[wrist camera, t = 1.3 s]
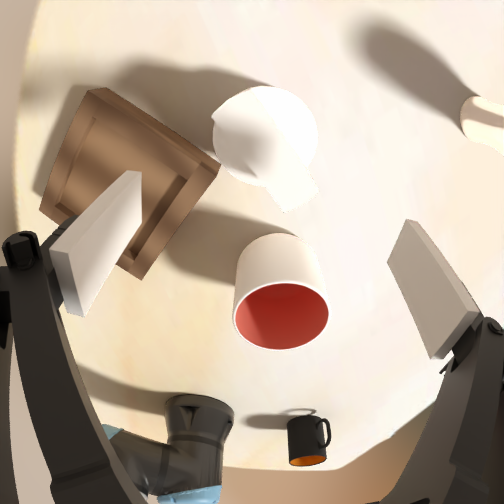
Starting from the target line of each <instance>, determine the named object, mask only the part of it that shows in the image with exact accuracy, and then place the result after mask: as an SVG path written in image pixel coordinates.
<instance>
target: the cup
mask: <svg viewBox="0 0 504 504" xmlns="http://www.w3.org/2000/svg"><path fill="white" fill-rule="evenodd" d="M330 318H331V306H330V302H329V298H328V295H327V291H326V287H325V284H324V280H323V277H322V273H321V270H320V266H319V263H318V259H317V256H316V254H315V252H314V251H313V249H312V248H311V247H310V245H309V244H307V243H306V242H305V241H304V240H302V239H300V238H298V237H296V236H294V235H290V234H284V233H273V234H268V235H264V236H262V237H259V238H257V239H256V240H254V241H252V242H251V243H250V244H249V245H248V246H247V247H246V248H245V249H244V250H243V252H242V253H241V255H240V257H239V260H238V264H237V272H236V283H235V293H234V304H233V315H232V319H233V324H234V327H235V329H236V331H237V332H238V334H239V335H240V336H241V337H242V338H243V339H244V340H245V341H247V342H248V343H250V344H252V345H254V346H256V347H259V348H262V349H267V350H274V351H282V350H291V349H296V348H299V347H302V346H304V345H307V344H309V343H311V342H312V341H314V340H315V339H317V338H318V337H319V336H320V335H321V334H322V333H323V332H324V331H325V329H326V328H327V326H328V324H329V322H330Z"/></svg>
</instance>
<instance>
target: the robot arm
mask: <svg viewBox="0 0 504 504" xmlns="http://www.w3.org/2000/svg"><path fill="white" fill-rule="evenodd" d="M141 179H142V172H138V171H128V170H127V171H126V172H125V173H123V174H122V175H121V176H120V177H119V178H118V179H117V180H116V181H115V182H114V183H113V184H111V185H110V186H109V187H108V188H107V189H106V190H105V191H104V192H103V193H102V194H101V195H100V196H99V197H98V198H97V199H96V200H95V201H94V202H93V203H92V204H91V205H90V206H89V207H88V208H87V209H86V210H85V211H84V212H83V213H82V214H81V215H74V216H72V217H70V218H68V219H66V220H65V221H64V222H63V223H62V224H61V225H60V226H59V227H58V229H56V230H55V231H54V232H53V233H52V235H50V236H49V237H48V238H47V239H46V241H45V242H44V243H43V244H42V245H41V246H39V242H38V238H37V235H36V233H34V232H32V231H21V232H18V233H15V234H13V235H11V236H10V237H8V238H7V239H6V240H5V241H4V243H3V245H2V250H3V253H4V257H5V259H6V263H7V266H1V267H0V504H19V500H18V495H17V489H16V484H15V478H14V470H13V462H12V452H11V440H10V422H9V386H10V366H11V354H12V344H13V335H14V342H15V349H16V355H17V361H18V366H19V371H20V376H21V381H22V385H23V390H24V394H25V398H26V402H27V406H28V409H29V413H30V416H31V420H32V423H33V426H34V429H35V432H36V436H37V438H38V442H39V444H40V447H41V450H42V453H43V456H44V458H45V461H46V463H47V466H48V468H49V471H50V474H51V477H52V482H51V485H50V490H51V494H52V497H53V499H54V502H55V504H148V503H147V499H148V494H151V495H155V496H158V497H157V500H158V503H160V504H217V503H218V502H219V499H220V491H221V488H222V485H221V483H222V466H223V449H224V443H225V441H226V439H227V437H228V435H229V433H230V430H231V428H232V426H233V423H234V412H233V410H232V409H231V408H230V407H229V406H228V405H227V404H225V403H223V402H221V401H219V400H216V399H213V398H209V397H205V396H198V395H180V396H176V397H173V398H171V399H169V400H168V401H167V403H166V407H165V420H166V426H167V432H168V440H167V444H164V443H161V442H158V441H155V440H151V439H148V438H145V437H142V436H139V435H136V434H134V433H131V432H128V431H125V430H124V429H122V428H120V429H119V428H116V427H113V426H110V425H107V424H102V425H101V423H100V421H99V419H98V416H97V414H96V412H95V410H94V407H93V405H92V403H91V401H90V398H89V396H88V393H87V391H86V389H85V386H84V384H83V381H82V378H81V376H80V373H79V370H78V368H77V365H76V362H75V359H74V356H73V354H72V351H71V348H70V345H69V341H68V338H67V335H66V332H65V328H64V325H63V322H62V318H61V314H60V312H59V307H60V305H61V304H62V302H63V301H64V304H65V307H66V310H67V313H71V314H74V315H78V316H82V317H85V316H86V314H87V312H88V310H89V309H90V307H91V305H92V303H93V301H94V300H95V298H96V296H97V294H98V293H99V291H100V289H101V287H102V286H103V284H104V282H105V280H106V279H107V277H108V275H109V274H110V272H111V270H112V269H113V267H114V265H115V264H116V262H117V261H118V259H119V257H120V256H121V254H122V253H123V251H124V249H125V248H126V246H127V245H128V243H129V242H130V240H131V238H132V237H133V235H134V234H135V232H136V231H137V229H138V228H139V226H140V225H141V223H142V205H141ZM387 263H388V265H389V267H390V269H391V271H392V273H393V275H394V277H395V280H396V282H397V284H398V286H399V288H400V290H401V292H402V294H403V296H404V299H405V301H406V303H407V305H408V307H409V310H410V312H411V314H412V316H413V319H414V321H415V323H416V326H417V328H418V330H419V333H420V335H421V338H422V340H423V343H424V345H425V348H426V350H427V353H428V355H429V358H430V359H444V358H445V356H446V355H447V354H448V353H449V352H450V350H451V349H452V352H453V354H454V356H453V357H452V358H451V360H450V361H449V362H448V363H447V364H446V365H445V366H444V367H443V369H442V370H441V371H440V372H439V373H440V374H442V373H443V372H444V371H446V373H445V375H444V379H443V382H442V385H441V388H440V390H439V393H438V396H437V399H436V401H435V404H434V406H433V409H432V411H431V414H430V416H429V419H428V421H427V423H426V426H425V428H424V431H423V432H422V435H421V437H420V439H419V441H418V443H417V445H416V447H415V450H414V451H413V454H412V455H411V458H410V460H409V461H408V463H407V465H406V467H405V469H404V471H403V473H402V474H401V476H400V478H399V480H398V482H397V483H396V485H395V487H394V488H393V490H392V491H391V492H390V493H389V494H388V495H387V496H386V497H385V498H383V499H382V500H381V501H380V502H379V501H378V502H373V503H367V504H504V330H503V329H502V327H501V326H500V324H499V323H498V322H497V321H496V320H494V319H492V318H491V317H485V318H484V316H483V314H482V313H481V311H480V309H479V308H478V306H477V304H476V303H475V301H474V299H473V298H471V297H472V296H471V295H470V293H469V292H468V290H467V288H466V287H465V285H464V284H463V282H462V281H461V280H460V279H459V277H458V276H457V275H456V273H455V272H454V270H453V269H452V267H451V266H450V264H449V263H448V261H447V260H446V259H445V257H444V256H443V254H442V253H441V252H440V250H439V249H438V248H437V246H436V245H435V244H434V242H433V241H432V240H431V238H430V237H429V236H428V234H427V233H426V232H425V230H424V229H423V228H422V227H421V225H420V224H419V223H418V222H417V221H413V220H409V219H406V221H405V223H404V225H403V228H402V230H401V232H400V235H399V237H398V239H397V241H396V244H395V246H394V248H393V250H392V252H391V254H390V257H389V259H388V261H387Z"/></svg>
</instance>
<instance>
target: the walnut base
mask: <svg viewBox="0 0 504 504" xmlns="http://www.w3.org/2000/svg"><path fill="white" fill-rule="evenodd" d="M220 166H221V164H220V163H218V162H217V161H216V160H214V159H213V158H211V157H210V156H209V155H207V154H206V153H204V152H203V151H201V150H200V149H199V148H197V147H196V146H194V145H193V144H191V143H190V142H188V141H187V140H186V139H184V138H183V137H181V136H180V135H178V134H177V133H175V132H174V131H172V130H171V129H169V128H168V127H166V126H165V125H163V124H162V123H160V122H159V121H157V120H156V119H154V118H153V117H151V116H150V115H148V114H147V113H145V112H144V111H142V110H141V109H139V108H138V107H136V106H134V105H133V104H131V103H130V102H128V101H127V100H125V99H124V98H122V97H120V96H119V95H117V94H116V93H114V92H112V91H111V90H109V89H108V88H100V89H94V90H88V91H87V93H86V95H85V97H84V98H83V100H82V102H81V104H80V106H79V108H78V110H77V112H76V115H75V117H74V119H73V121H72V123H71V125H70V127H69V130H68V132H67V134H66V136H65V139H64V141H63V143H62V146H61V148H60V151H59V153H58V156H57V158H56V161H55V164H54V166H53V169H52V172H51V174H50V177H49V180H48V183H47V186H46V189H45V192H44V195H43V198H42V201H41V204H40V208H39V211H41V212H42V213H43V214H45V215H46V216H47V217H49V218H50V219H51V220H53V221H54V222H55V223H57V224H58V225H61V224H62V223H63V222H64V221H65V220H66V219H68V218H70V217H72V216H74V215H81V214H82V213H83V212H84V211H85V210H86V209H87V208H88V207H89V206H90V205H91V204H92V203H93V202H94V201H95V200H96V199H97V198H98V197H99V196H100V195H101V194H102V193H103V192H104V191H105V190H106V189H107V188H108V187H109V186H110V185H111V184H113V183H114V182H115V181H116V180H117V179H118V178H119V177H120V176H121V175H122V174H123V173H125V172H126V171H127V170H128V171H138V172H142V179H141V205H142V223H141V225H140V226H139V228H138V229H137V231H136V232H135V234H134V235H133V237H132V238H131V240H130V242H129V243H128V245H127V246H126V248H125V249H124V251H123V253H122V254H121V256H120V257H119V259H118V261H117V262H116V265H118V266H119V267H121V268H122V269H124V270H125V271H127V272H129V273H130V274H132V275H133V276H135V277H137V278H138V279H140V280H141V281H142V279H143V278H144V276H145V275H146V273H147V272H148V270H149V269H150V267H151V266H152V264H153V263H154V261H155V260H156V258H157V257H158V255H159V254H160V253H161V251H162V250H163V248H164V247H165V245H166V244H167V243H168V241H169V240H170V238H171V237H172V235H173V234H174V233H175V231H176V230H177V228H178V227H179V226H180V224H181V223H182V222H183V220H184V219H185V217H186V216H187V215H188V213H189V212H190V211H191V209H192V208H193V207H194V205H195V204H196V203H197V201H198V200H199V199H200V197H201V196H202V195H203V193H204V192H205V191H206V189H207V188H208V187H209V185H210V184H211V183H212V182H213V180H214V179H215V178H216V176H217V174H218V171H219V169H220Z"/></svg>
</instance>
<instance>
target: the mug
mask: <svg viewBox="0 0 504 504" xmlns="http://www.w3.org/2000/svg"><path fill="white" fill-rule="evenodd" d="M322 422H325V424H326V427H327V435H328V438H327V442H326V444H325V439H324V431H323V423H322ZM287 432H288V451H289V464H291V465H293V466H312V465H316V464H320V463H322V462H324V461H325V460H326V459H327V456H326V447H327V446H328V445H329V444H330V441H331V429H330V424H329V421H328V420H327V419H325V418H323V419H321V418H320V417H317V416H311V415H308V416H300V417H296V418H294V419H292V420H290V421H289V422H288V424H287Z"/></svg>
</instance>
